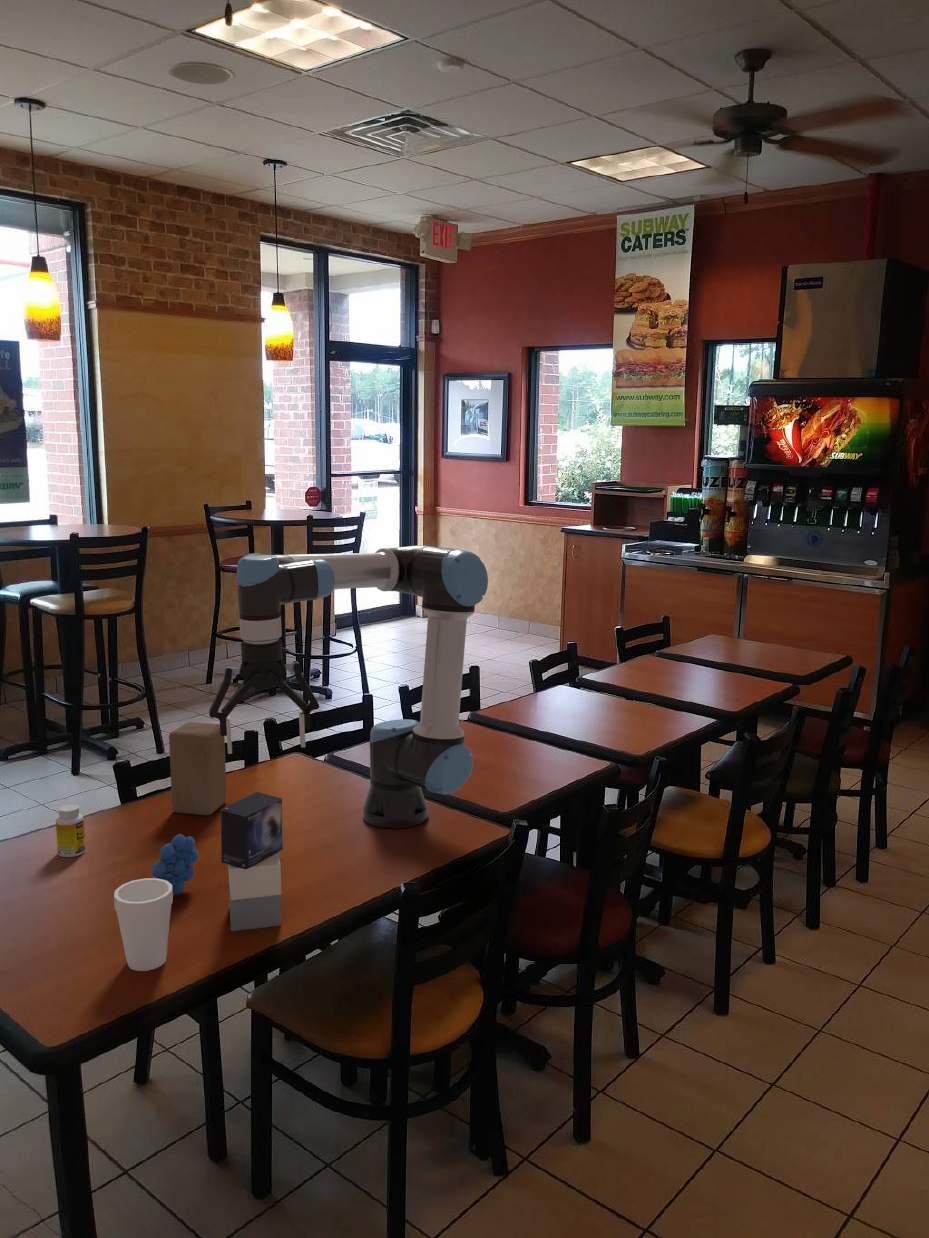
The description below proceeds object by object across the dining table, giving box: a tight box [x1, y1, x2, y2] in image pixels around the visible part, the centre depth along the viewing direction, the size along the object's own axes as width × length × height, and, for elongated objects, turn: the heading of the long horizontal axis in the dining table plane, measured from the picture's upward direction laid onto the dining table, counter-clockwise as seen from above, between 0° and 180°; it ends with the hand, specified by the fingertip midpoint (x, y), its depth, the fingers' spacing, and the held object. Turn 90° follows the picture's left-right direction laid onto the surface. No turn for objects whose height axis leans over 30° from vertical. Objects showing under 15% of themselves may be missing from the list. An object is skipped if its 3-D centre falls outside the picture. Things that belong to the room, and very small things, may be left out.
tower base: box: [228, 885, 282, 932], centre depth 185 cm, size 9×9×6 cm
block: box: [168, 721, 228, 816], centre depth 236 cm, size 10×10×20 cm
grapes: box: [151, 833, 199, 896], centre depth 193 cm, size 12×7×12 cm, turn 151°
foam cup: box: [113, 877, 174, 972], centre depth 168 cm, size 10×9×13 cm
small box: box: [220, 791, 284, 869], centre depth 182 cm, size 11×6×10 cm, turn 152°
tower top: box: [227, 852, 282, 900], centre depth 184 cm, size 9×9×6 cm
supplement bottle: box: [55, 804, 86, 858], centre depth 211 cm, size 6×6×10 cm
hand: (266, 748), depth 188 cm, fingers open, 13 cm apart
